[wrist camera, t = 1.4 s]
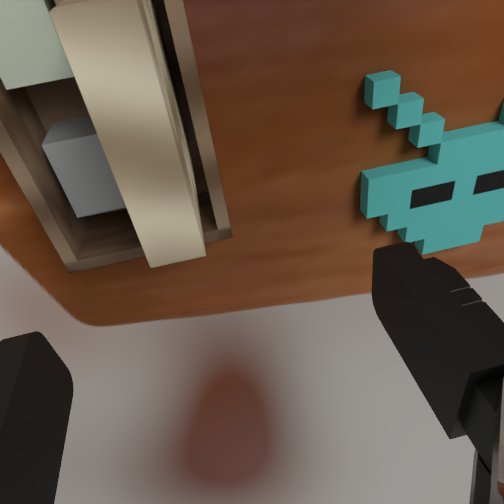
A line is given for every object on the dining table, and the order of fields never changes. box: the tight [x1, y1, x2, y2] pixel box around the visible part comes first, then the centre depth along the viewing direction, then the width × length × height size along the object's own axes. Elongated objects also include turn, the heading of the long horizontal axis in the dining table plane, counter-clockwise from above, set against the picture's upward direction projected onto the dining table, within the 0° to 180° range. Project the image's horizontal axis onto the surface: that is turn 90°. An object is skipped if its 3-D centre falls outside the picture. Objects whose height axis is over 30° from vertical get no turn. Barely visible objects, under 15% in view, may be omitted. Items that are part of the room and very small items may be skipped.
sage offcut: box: [0, 0, 74, 90], centre depth 24 cm, size 7×4×5 cm, turn 8°
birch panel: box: [49, 0, 206, 268], centre depth 24 cm, size 12×3×15 cm, turn 8°
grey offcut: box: [42, 116, 126, 218], centre depth 31 cm, size 6×4×4 cm, turn 8°
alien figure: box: [360, 70, 504, 255], centre depth 40 cm, size 20×2×20 cm
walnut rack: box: [0, 0, 232, 273], centre depth 28 cm, size 24×13×7 cm, turn 8°
